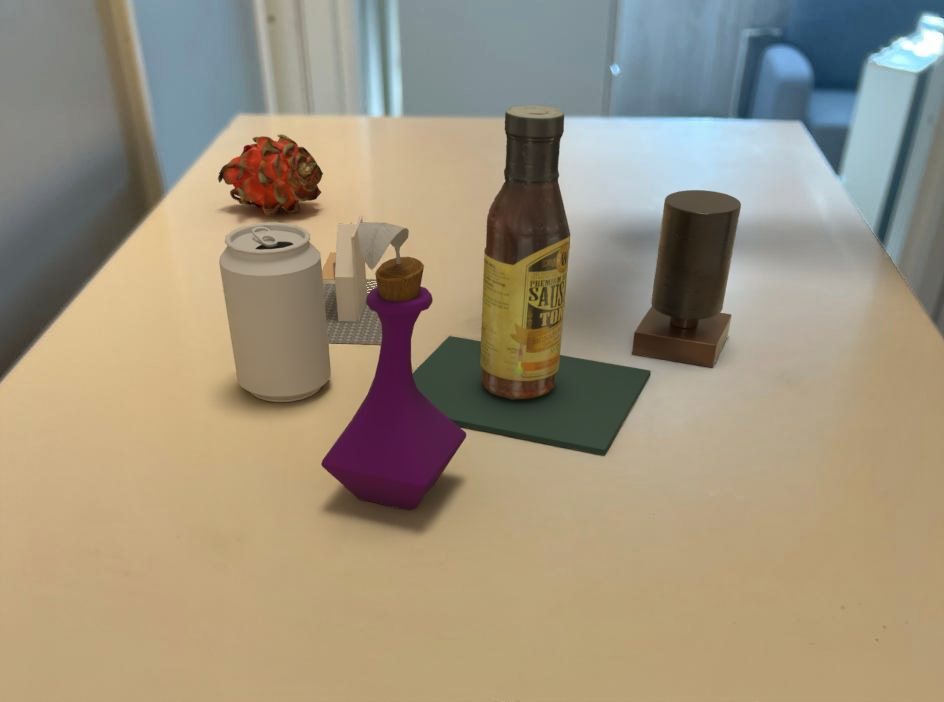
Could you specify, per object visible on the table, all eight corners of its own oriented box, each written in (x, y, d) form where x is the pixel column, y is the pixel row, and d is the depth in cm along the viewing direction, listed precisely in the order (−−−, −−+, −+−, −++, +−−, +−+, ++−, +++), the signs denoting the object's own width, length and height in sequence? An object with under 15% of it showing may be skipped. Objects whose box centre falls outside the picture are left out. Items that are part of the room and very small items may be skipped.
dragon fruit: (333, 229, 113) (234, 240, 115) (335, 165, 115) (238, 177, 117) (309, 178, 105) (203, 192, 107) (312, 111, 107) (208, 125, 109)
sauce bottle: (533, 411, 76) (550, 128, 63) (464, 391, 78) (467, 115, 66) (572, 379, 80) (595, 107, 67) (506, 361, 83) (516, 95, 70)
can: (262, 415, 76) (240, 258, 68) (224, 378, 81) (199, 228, 73) (348, 391, 79) (336, 238, 72) (306, 357, 84) (291, 210, 76)
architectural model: (321, 320, 90) (313, 236, 85) (333, 291, 95) (327, 211, 90) (358, 321, 90) (353, 238, 85) (368, 292, 95) (364, 212, 90)
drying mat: (650, 375, 82) (651, 370, 82) (604, 455, 72) (605, 449, 72) (449, 340, 87) (449, 335, 87) (380, 410, 77) (380, 405, 77)
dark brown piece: (727, 335, 88) (754, 194, 80) (712, 367, 83) (739, 220, 75) (650, 323, 90) (669, 183, 82) (631, 354, 85) (649, 208, 77)
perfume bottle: (371, 454, 72) (355, 194, 60) (467, 474, 70) (470, 209, 58) (323, 506, 67) (295, 232, 55) (425, 530, 65) (419, 250, 53)
